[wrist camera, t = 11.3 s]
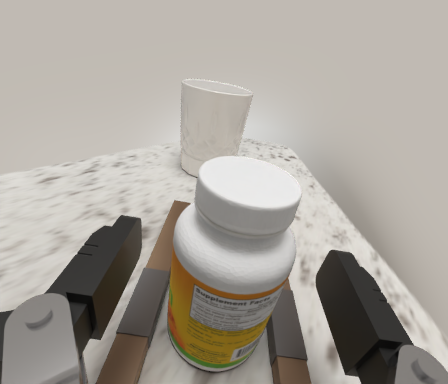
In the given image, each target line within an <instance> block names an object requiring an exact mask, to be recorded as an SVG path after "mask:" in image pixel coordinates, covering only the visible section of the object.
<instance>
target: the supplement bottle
mask: <svg viewBox="0 0 448 384" xmlns="http://www.w3.org/2000/svg"><path fill="white" fill-rule="evenodd" d="M301 196H302V189H301V186H300V184H299V183H298V181H297V180H296V179H295V178H294V177H293V176H292V175H291V174H289V173H288V172H286V171H285V170H283V169H281V168H280V167H277V166H275V165H273V164H270V163H268V162H265V161H261V160H258V159H254V158H249V157H241V156H223V157H217V158H213V159H211V160H208V161H206V162H205V163H204V164H203V165H202V166H201V167H200V169H199V172H198V177H197V184H196V192H195V201H194V202H193V203H192V204H190V205H189V206H188V207H187V208H186V209H185V210H184V211H183V212H182V213H181V215H180V216H179V218H178V220H177V222H176V225H175V230H174V237H173V249H172V262H171V275H170V287H169V302H168V331H169V335H170V338H171V341H172V343H173V345H174V347H175V349H176V350H177V352H178V353H179V354H180V355H181V356H182V357H183V358H184V359H185V360H186V361H187V362H189V363H190V364H192V365H194V366H196V367H198V368H201V369H204V370H208V371H225V370H229V369H231V368H234V367H236V366H238V365H240V364H241V363H243V362H244V361H245V360H246V359H247V358H248V357H249V356H250V355H251V354H252V352H253V351H254V349H255V347H256V346H257V344H258V342H259V340H260V338H261V336H262V334H263V331H264V329H265V327H266V325H267V322H268V320H269V318H270V316H271V314H272V311H273V309H274V307H275V305H276V303H277V300H278V298H279V296H280V294H281V292H282V289H283V287H284V285H285V283H286V281H287V279H288V277H289V275H290V272H291V270H292V267H293V264H294V261H295V257H296V241H295V237H294V234H293V232H292V230H291V228H290V224H291V223H292V222H293V220H294V217H295V214H296V211H297V208H298V205H299V202H300V200H301Z"/></svg>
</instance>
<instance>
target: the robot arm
mask: <svg viewBox="0 0 448 384" xmlns="http://www.w3.org/2000/svg"><path fill="white" fill-rule="evenodd" d="M141 248H142V231H141V219H140V218H136V217H130V216H124V215H121V216H120V217H119V218H118V219H117V221H116V222H115V223H114V225H113V226H112V227H110V226H103V227H102V228H100V229H99V230H97V231H96V232H94V233H93V234H92V235H91V236H90V237H89V239H88V240H87V241H86V242H85V244H84V246H82V248H81V249H80V250H79V251H78V254H77V255H75V256H74V258H73V259H72V260H71V261H70V263H69V264H68V265H67V266H66V268H65V269H64V270H63V272H62V273H61V274H60V275H59V277H58V278H57V279H56V280H55V282H54V283H53V284H52V285H51V287H50V288H49V289H48V290H47V291H46V292H45V293H44V294H42V295H38V296H35V297H33V298H31V299H29V300H27V301H25V302H24V303H22V304H21V305H20V306H18V307H17V308H16V309H15V310H11V311H6V312H0V384H88V380H87V374H86V369H85V363H84V357H83V351H84V349H85V347H86V345H87V343H88V341H89V339H97V340H101V338H102V336H103V334H104V332H105V330H106V327H107V325H108V323H109V321H110V319H111V317H112V315H113V313H114V310H115V308H116V306H117V304H118V302H119V300H120V298H121V296H122V294H123V291H124V289H125V287H126V285H127V283H128V281H129V279H130V277H131V275H132V272H133V270H134V268H135V266H136V264H137V262H138V260H139V257H140V253H141ZM316 288H317V291H318V294H319V297H320V300H321V303H322V306H323V309H324V312H325V315H326V318H327V321H328V324H329V327H330V330H331V333H332V336H333V339H334V342H335V345H336V348H337V351H338V354H339V357H340V360H341V363H342V366H343V369H344V372H345V375H349V376H357V377H359V379H360V381H361V384H448V372H447V371H446V369H445V368H444V367H443V366H442V365H441V364H440V362H439V361H437V360H436V359H435V358H434V357H433V356H432V355H431V354H429V353H428V352H426V351H425V350H423V349H421V348H419V347H417V346H414V344H413V343H412V341H411V340H410V338H409V336H408V335H407V333H406V331H405V330H404V328H403V326H402V325H401V323H400V321H399V320H398V318H397V316H396V315H395V313H394V311H393V310H392V308H391V306H390V305H389V303H387V300H386V298H385V296H384V295H383V293H381V290H380V288H379V286H378V285H377V283H376V281H375V280H374V278H373V277H372V276H371V275H370V274H369V273H368V272H367V271H366V270H365V269H364V268H363V267H360V266H359V264H358V262H357V261H356V259H355V257H354V255H353V254H352V253H350V252H343V251H337V250H331V251H329V253H328V255H327V256H326V258H325V260H324V262H323V264H322V265H321V267H320V269H319V271H318V273H317V275H316Z"/></svg>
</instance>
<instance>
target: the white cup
mask: <svg viewBox="0 0 448 384" xmlns="http://www.w3.org/2000/svg"><path fill="white" fill-rule="evenodd" d="M252 97H253V93H252V92H251V91H250V90H247V89H245V88H242V87H238V86H234V85H231V84H226V83H221V82H216V81H209V80H201V79H185V80H182V99H181V147H182V148H181V165H182V169H183V170H185V171H186V172H187V173H188V174H190V175H193V176H196V177H198V172H199V169H200V167H201V166H202V165H203V164H204V163H205V162H206V161H208V160H211V159H213V158H217V157H223V156H236V155H237V153H238V149H239V145H240V143H241V139H242V135H243V131H244V128H245V124H246V120H247V116H248V112H249V108H250V104H251V100H252Z"/></svg>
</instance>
